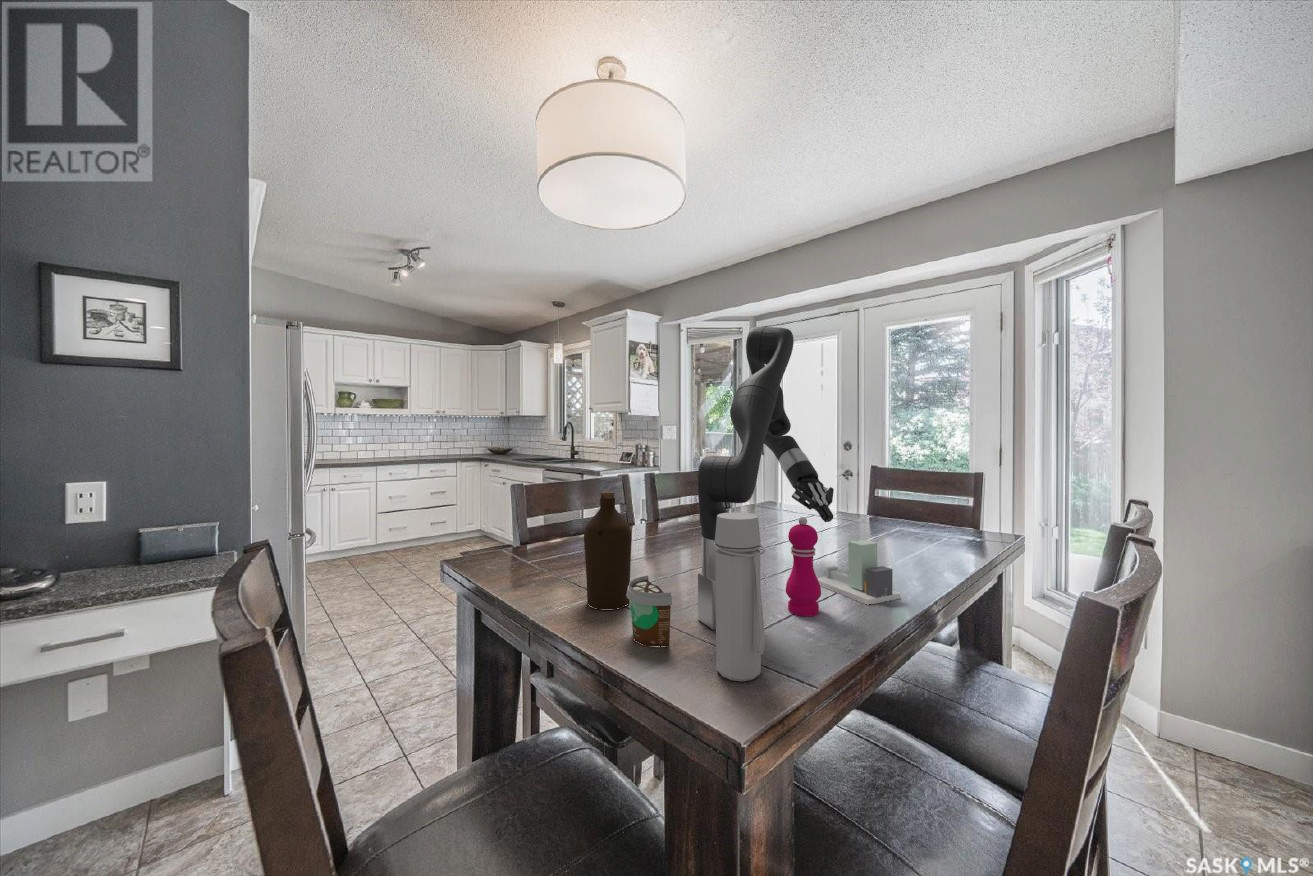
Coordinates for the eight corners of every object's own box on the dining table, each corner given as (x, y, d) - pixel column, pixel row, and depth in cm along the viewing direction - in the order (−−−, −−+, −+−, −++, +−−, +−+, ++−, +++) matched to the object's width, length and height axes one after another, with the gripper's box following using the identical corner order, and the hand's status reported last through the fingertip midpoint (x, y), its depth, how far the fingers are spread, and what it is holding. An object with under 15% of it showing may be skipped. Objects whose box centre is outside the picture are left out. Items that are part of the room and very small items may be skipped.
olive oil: (638, 608, 108) (636, 493, 108) (589, 614, 105) (588, 495, 104) (625, 593, 118) (624, 488, 118) (580, 598, 115) (579, 490, 114)
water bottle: (704, 669, 80) (703, 514, 80) (741, 657, 84) (741, 510, 84) (743, 695, 72) (742, 523, 72) (782, 680, 76) (781, 518, 76)
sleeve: (861, 590, 114) (861, 545, 113) (848, 585, 117) (848, 541, 117) (877, 587, 116) (877, 543, 115) (863, 583, 119) (863, 539, 119)
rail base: (867, 605, 109) (867, 573, 109) (813, 583, 124) (813, 555, 124) (900, 598, 113) (900, 567, 113) (844, 578, 128) (844, 551, 128)
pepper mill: (825, 617, 102) (825, 520, 102) (790, 617, 102) (789, 520, 102) (815, 605, 109) (815, 514, 109) (782, 605, 109) (781, 514, 109)
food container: (618, 629, 97) (617, 578, 97) (647, 624, 99) (647, 574, 99) (639, 656, 85) (639, 598, 85) (672, 650, 88) (672, 593, 87)
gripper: (784, 460, 132) (816, 513, 121) (823, 458, 137) (857, 509, 126) (772, 478, 137) (801, 531, 126) (810, 476, 142) (842, 526, 131)
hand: (829, 520), depth 126 cm, fingers closed
